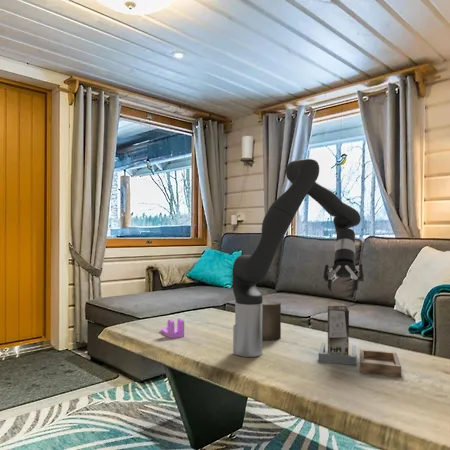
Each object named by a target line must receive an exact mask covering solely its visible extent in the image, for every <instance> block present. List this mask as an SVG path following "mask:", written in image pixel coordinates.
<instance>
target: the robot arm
mask: <svg viewBox="0 0 450 450" xmlns="http://www.w3.org/2000/svg"><path fill="white" fill-rule="evenodd" d="M285 174H286V175H285V176H286V178H287V179H288V181H289V182H290V183H291V185H290V186H289V188H288V189H286V190H285V192H284V193H282V194H281V195H279V197H278V198H276V200H274V201H273V203H272V204H271V205H270V207H269V209H267V212H266V214H265V216H264V217H263V219H262V224H261V236H260V240H259V243H258V245H257V247H256V248H255V250H254V251H253V253H252V254H251V255H250V254H249V255H248V254H242V255H239V256H238V257H236V259H235V260H234V262H233V264H232V292H233V296H234V298H235V305H234V306H235V309H234V311H235V312H234V313H235V315H234V316H235V317H234V325H233V330H232V331H233V333H232V345H233V347H232V348H233V349H232V351H233V352H232V354H233V355H237V356H239V357H245V358H246V357H247V358H255V357H259V356H261V355H262V354H263V340H262V301H263V295H262V293H261V292H260V291H259V289H258V288H257V284H260V283H261V282H262V281H263V280H264V279H265V278H266V277H267V274H268V272H269V270H270V267H271V265H272V262H273V260H274V257H275V255H276V253H277V250H278V249H279V246H280V245H281V242H282V240H283V239H284V237H285V235H286V233H287V231H288V229H289V227H290V226H291V224H292V222H293V220H294V219H295V218H294V217H295V216H296V214H297V212H298V210H299V209H300V207H301V205H302V203H303V201H304V199H305V198H306V196H307V195H308V196H310V198H312V200H314V201H315V202H316V203H318V205H320V207H322V208H323V210H325V211H326V212H327V214H328V215H330V216H331V217H333V218H332V219H333V226H334V229H335V233H336V238H335V246H334V247H335V248H334V256H333V257H334V258H333V264H332V265H329V264H325V265H324V270H323V281H324V282H327V289H328V290H329V292H333V288H334V287H333V286H334V281H335V280H337V279H338V277H339V278H349V277H350V278H351V279H352V280H353V284H352V285H353V286H352V287H353V289H352V290H353V292H355V293H356V292H357V291H358V290H359V282H364V280H365V275H364V272H365V271H364V266H363V264H362V263H360V264H359V265H355V262H356V259H355V258H356V244H355V242H356V234H355V231H354V230H353V229H351V228H354V227H357V226H359V224H360V223H361V219H362V218H361V215H360V213H359V212H358V210H357V209H355V208H353V207H352V206H350V205H348V204H347V203H346V202H343V201H342V200H341V199H340V198H339V196H337V194H336V193H334V192H333V191H332V190H331V189H328V188H326V186H323V185H321V184H320V183H318V182H317V180H318V178H319V174H320V165H319V163H318V161H317V160H316V159H313V158H302V159H297V160H296V159H295V160H292V161H290V162H289V163H288V164H287V166H286V167H285ZM356 270H357V272H359V273H358V274H359V276H357V275H356V274H355V271H356Z"/></svg>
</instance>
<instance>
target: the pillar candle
mask: <svg viewBox="0 0 450 450" xmlns="http://www.w3.org/2000/svg"><path fill="white" fill-rule="evenodd" d="M281 311H282V308H281V302H280V301H276V300H270V299H268V300H262V341H277V340H280V339H282V338H281V337H282V335H281V334H282V332H281V331H282V330H281V329H282V326H281V325H282V323H281V320H282V318H281V314H282V313H281Z"/></svg>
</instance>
